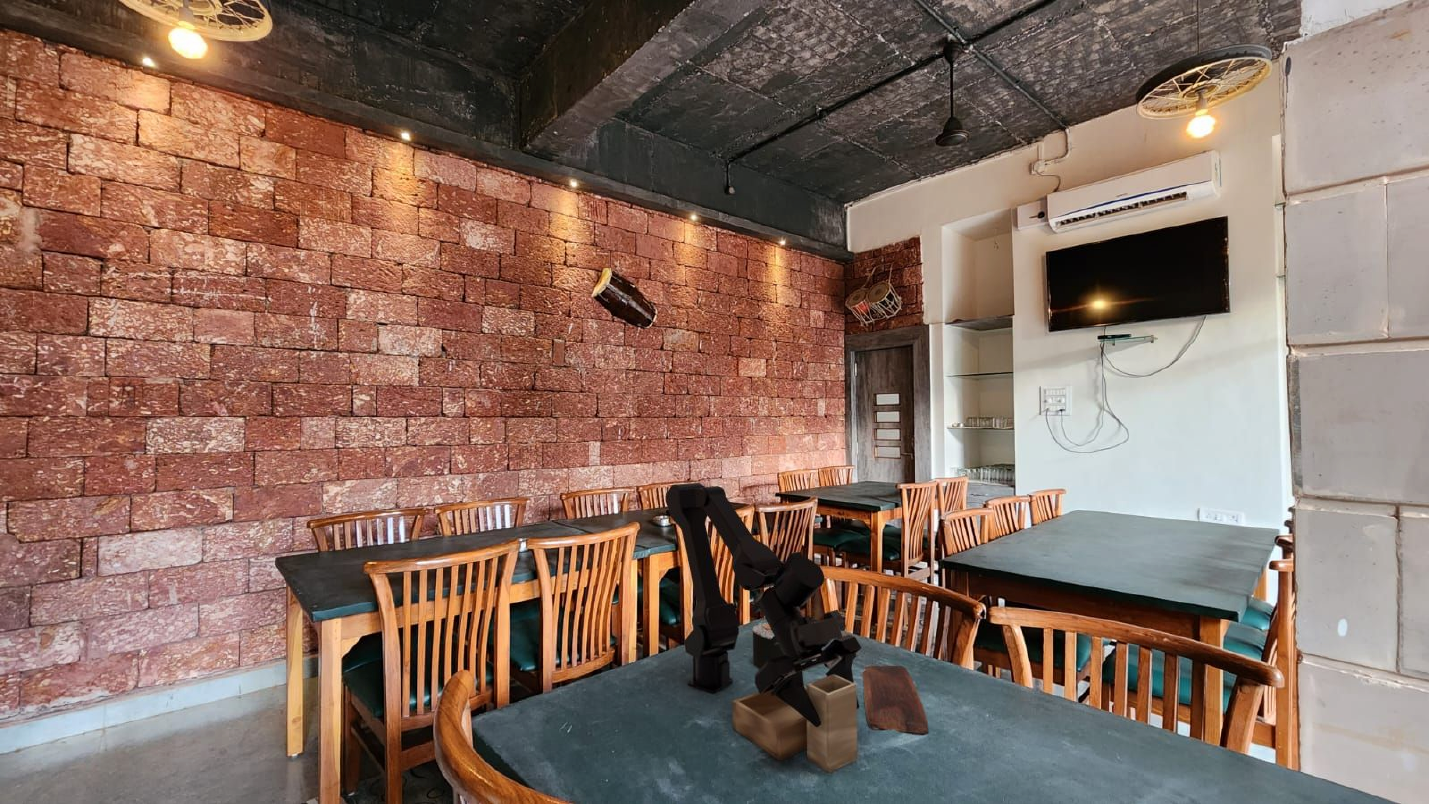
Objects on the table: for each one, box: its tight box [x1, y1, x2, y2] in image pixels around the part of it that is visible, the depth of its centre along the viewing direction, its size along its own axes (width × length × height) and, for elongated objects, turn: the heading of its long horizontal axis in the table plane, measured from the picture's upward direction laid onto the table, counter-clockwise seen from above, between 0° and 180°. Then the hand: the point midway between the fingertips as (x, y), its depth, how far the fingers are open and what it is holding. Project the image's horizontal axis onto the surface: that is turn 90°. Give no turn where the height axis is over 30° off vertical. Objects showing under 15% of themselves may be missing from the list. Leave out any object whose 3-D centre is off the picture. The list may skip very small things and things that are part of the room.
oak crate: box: [732, 685, 807, 762], centre depth 96 cm, size 11×13×4 cm
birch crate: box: [805, 674, 858, 774], centre depth 88 cm, size 4×6×11 cm
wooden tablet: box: [862, 665, 929, 736], centre depth 108 cm, size 26×2×10 cm
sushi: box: [752, 622, 784, 670], centre depth 123 cm, size 8×8×8 cm
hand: (838, 717), depth 87 cm, fingers open, 8 cm apart
